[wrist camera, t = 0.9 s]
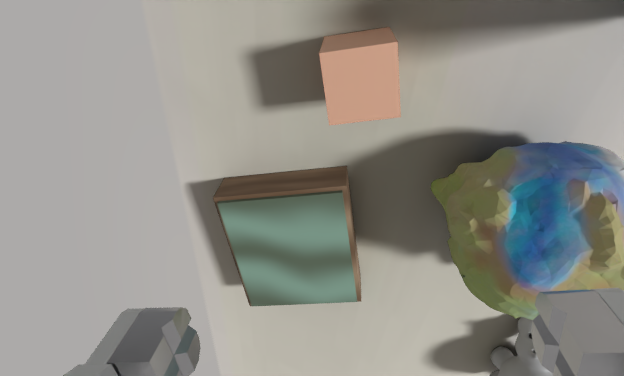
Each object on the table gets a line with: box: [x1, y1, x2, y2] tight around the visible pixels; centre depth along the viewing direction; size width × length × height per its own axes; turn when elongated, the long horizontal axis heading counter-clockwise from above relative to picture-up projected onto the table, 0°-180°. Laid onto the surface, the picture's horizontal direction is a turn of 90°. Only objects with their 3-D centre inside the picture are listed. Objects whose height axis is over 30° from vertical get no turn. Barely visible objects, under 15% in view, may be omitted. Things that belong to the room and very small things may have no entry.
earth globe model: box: [431, 142, 624, 320], centre depth 30 cm, size 14×16×15 cm
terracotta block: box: [319, 27, 401, 125], centre depth 28 cm, size 5×5×6 cm
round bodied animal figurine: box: [490, 317, 553, 376], centre depth 42 cm, size 7×12×8 cm, turn 179°
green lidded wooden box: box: [213, 166, 361, 306], centre depth 38 cm, size 14×12×4 cm
